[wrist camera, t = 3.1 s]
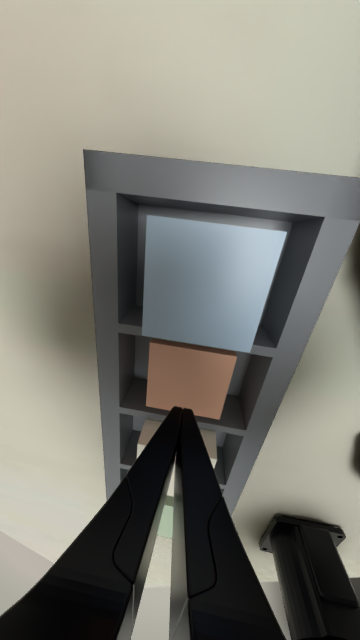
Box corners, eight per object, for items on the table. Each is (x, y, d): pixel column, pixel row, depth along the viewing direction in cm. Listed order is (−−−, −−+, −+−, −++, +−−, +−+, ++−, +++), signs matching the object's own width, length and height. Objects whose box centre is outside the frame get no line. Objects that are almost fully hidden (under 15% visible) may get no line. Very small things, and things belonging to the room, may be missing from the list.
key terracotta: (217, 390, 14) (219, 419, 11) (155, 379, 14) (145, 406, 12) (231, 334, 12) (237, 357, 10) (159, 323, 12) (149, 342, 10)
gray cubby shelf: (219, 493, 19) (222, 536, 16) (121, 473, 20) (107, 511, 17) (325, 197, 9) (378, 179, 6) (117, 174, 10) (83, 149, 7)
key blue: (240, 327, 10) (250, 352, 8) (155, 314, 10) (142, 335, 8) (265, 233, 8) (287, 231, 6) (162, 220, 8) (146, 214, 6)
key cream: (203, 462, 14) (203, 502, 12) (145, 450, 15) (135, 488, 12) (214, 420, 13) (217, 459, 10) (148, 408, 13) (137, 443, 11)
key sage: (193, 502, 17) (191, 543, 14) (142, 492, 17) (133, 530, 15) (201, 472, 15) (200, 512, 13) (145, 460, 15) (135, 498, 13)
